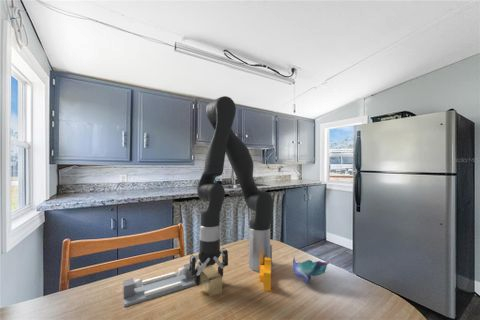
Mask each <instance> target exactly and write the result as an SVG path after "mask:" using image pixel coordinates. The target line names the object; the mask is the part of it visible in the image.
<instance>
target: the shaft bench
mask: <svg viewBox="0 0 480 320" xmlns="http://www.w3.org/2000/svg"><path fill="white" fill-rule="evenodd" d="M189 267H190V262H189V263H186V264H184V266H182V267H179V268H178V270H177V271H178V272H176V271H173V272H169V273H166V274H162V275H159V276H155V277H150V278H146V279H144V280H143V278H137V279H134V277H132V278H128V279H123V281H122V282H123V287H122V294H123V307H124V308H126V307H129V306H132V305H135V304H138V303H141V302H142V303H143V302H144V301H149V300H151V299H154V298H158V297H161V296H164V295H167V294H171V293H173V292H177V291H181V290H184V289H186V288H190V287H193V286H197V284H196V283H195V275H191V273H190V272H189Z"/></svg>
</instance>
